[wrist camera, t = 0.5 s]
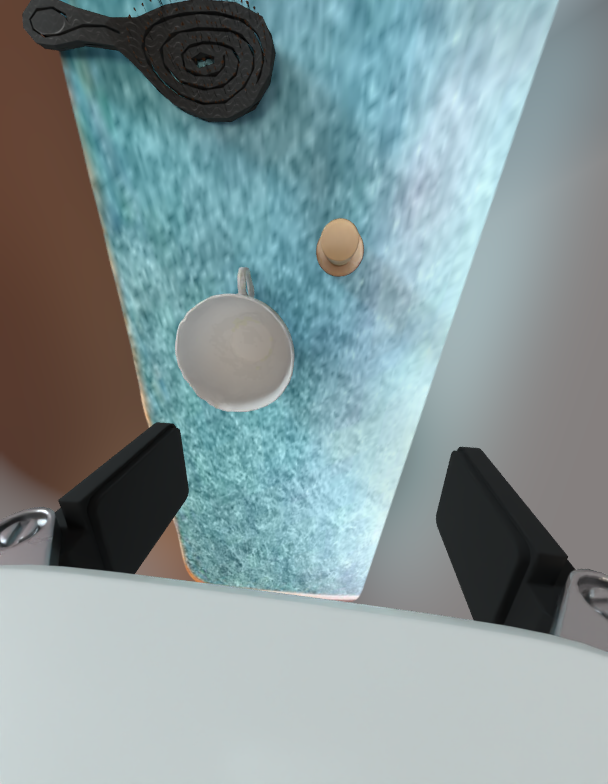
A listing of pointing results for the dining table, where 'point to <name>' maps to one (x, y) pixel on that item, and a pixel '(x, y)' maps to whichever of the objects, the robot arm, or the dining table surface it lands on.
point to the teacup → (235, 350)
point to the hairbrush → (174, 49)
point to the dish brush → (339, 248)
